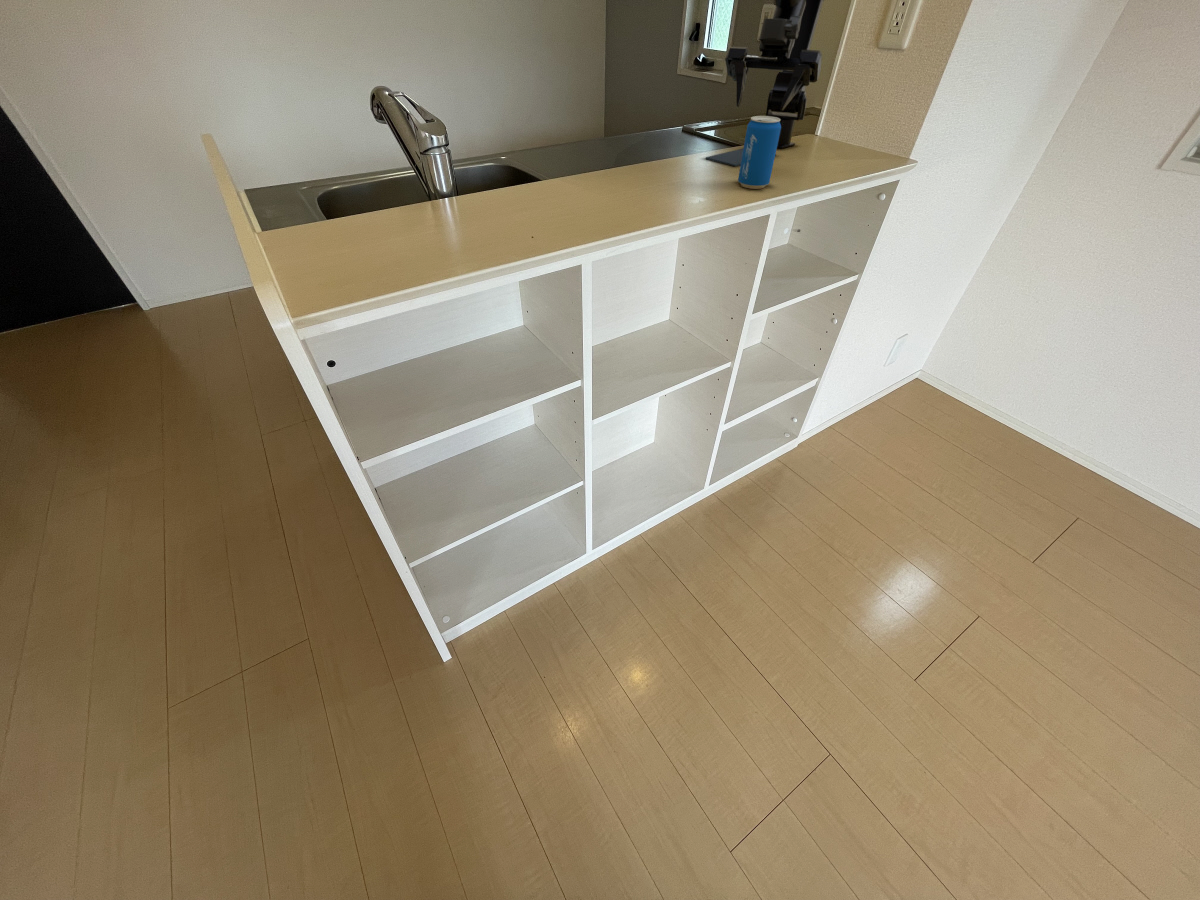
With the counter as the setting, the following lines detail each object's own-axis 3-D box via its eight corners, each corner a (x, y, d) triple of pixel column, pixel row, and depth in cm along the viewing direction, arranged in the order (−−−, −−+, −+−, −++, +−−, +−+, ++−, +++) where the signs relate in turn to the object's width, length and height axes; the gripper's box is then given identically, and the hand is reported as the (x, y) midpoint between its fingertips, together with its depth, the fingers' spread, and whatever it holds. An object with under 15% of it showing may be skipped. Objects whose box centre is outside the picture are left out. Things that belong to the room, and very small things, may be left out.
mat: (746, 149, 130) (747, 147, 130) (775, 156, 125) (776, 154, 125) (705, 159, 123) (705, 157, 123) (734, 166, 118) (735, 164, 118)
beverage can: (730, 184, 107) (741, 117, 99) (751, 179, 110) (763, 114, 102) (754, 191, 103) (768, 123, 95) (774, 186, 106) (789, 119, 98)
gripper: (734, -6, 98) (709, 79, 100) (834, -5, 92) (806, 86, 94) (740, 36, 108) (717, 112, 111) (830, 39, 102) (804, 120, 105)
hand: (759, 107), depth 105 cm, fingers open, 9 cm apart
